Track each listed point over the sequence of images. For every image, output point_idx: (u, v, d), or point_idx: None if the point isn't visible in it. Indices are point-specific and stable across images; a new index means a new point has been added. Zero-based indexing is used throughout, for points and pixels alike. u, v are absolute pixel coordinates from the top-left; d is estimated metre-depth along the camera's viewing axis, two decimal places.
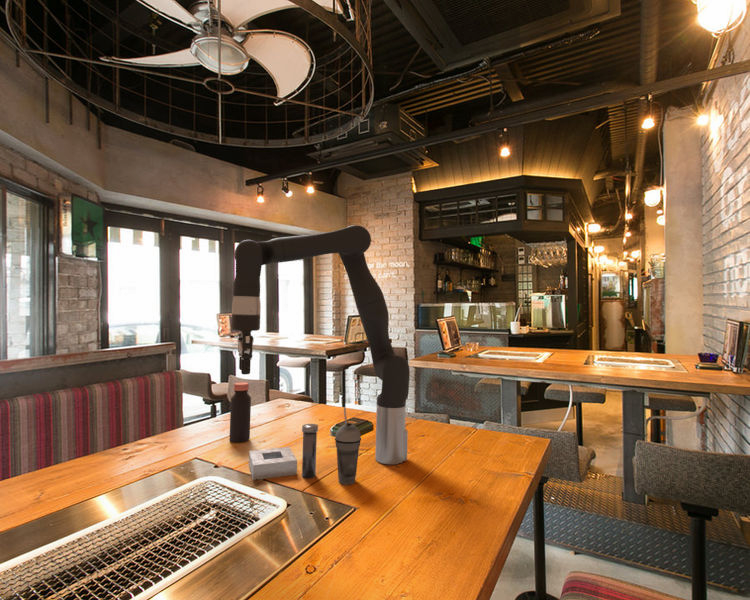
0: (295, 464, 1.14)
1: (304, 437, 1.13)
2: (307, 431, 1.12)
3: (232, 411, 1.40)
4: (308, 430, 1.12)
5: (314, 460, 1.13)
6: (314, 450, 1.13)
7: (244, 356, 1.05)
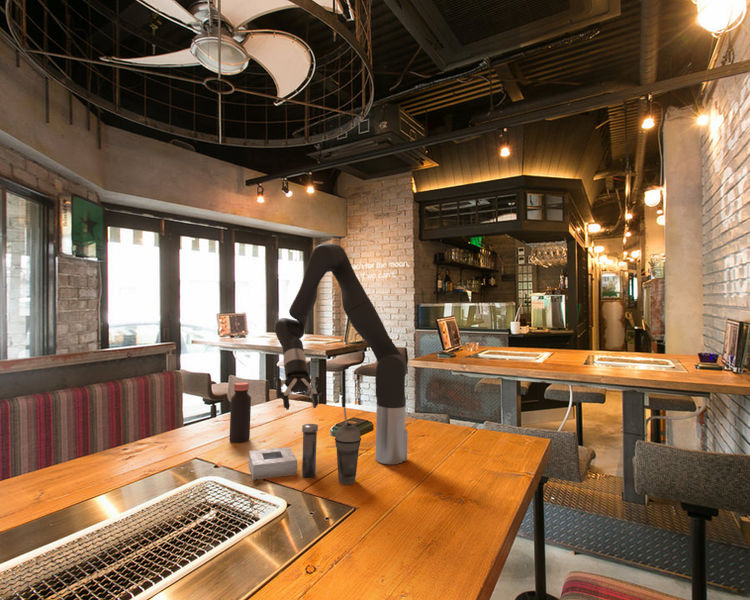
0: (295, 464, 1.14)
1: (304, 437, 1.13)
2: (307, 431, 1.12)
3: (232, 411, 1.40)
4: (308, 430, 1.12)
5: (314, 460, 1.13)
6: (314, 450, 1.13)
7: (276, 396, 1.26)
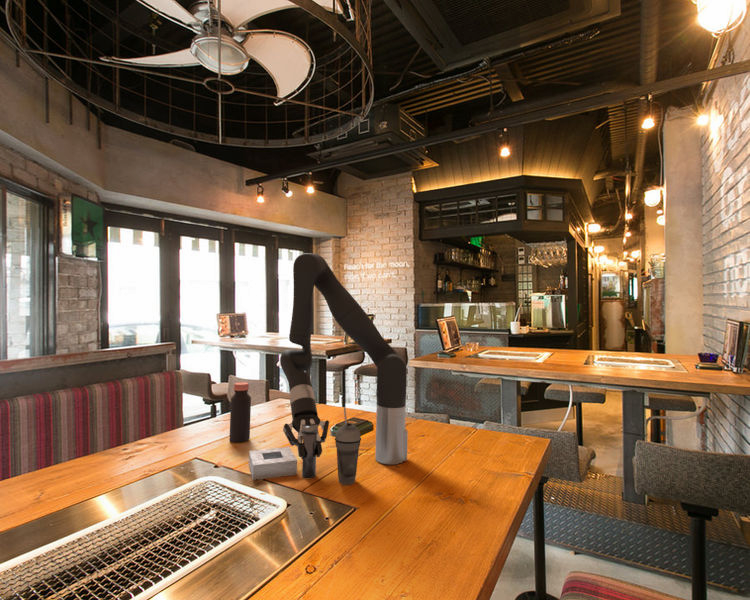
0: (295, 464, 1.14)
1: (304, 437, 1.13)
2: (307, 431, 1.12)
3: (232, 411, 1.40)
4: (308, 430, 1.12)
5: (314, 460, 1.13)
6: (314, 450, 1.13)
7: (290, 443, 1.14)
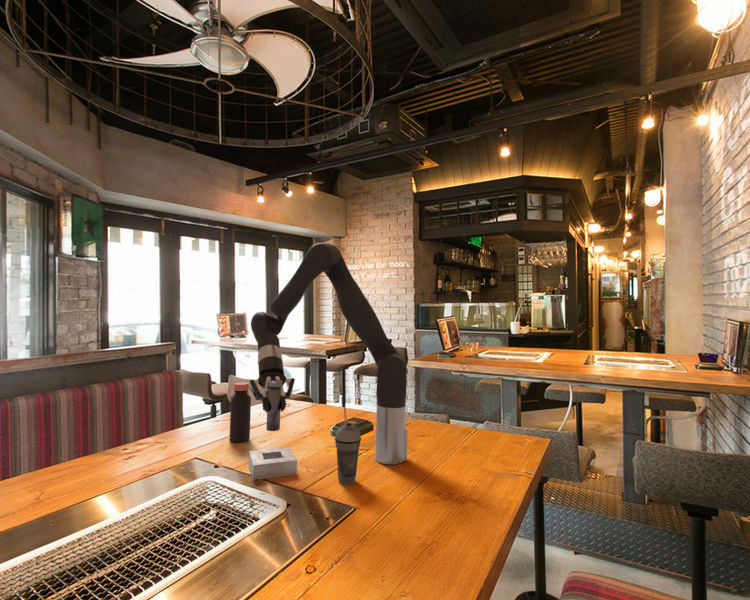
0: (295, 464, 1.14)
1: (268, 392, 1.17)
2: (271, 385, 1.16)
3: (232, 411, 1.40)
4: (272, 384, 1.16)
5: (278, 414, 1.17)
6: (278, 404, 1.17)
7: (255, 397, 1.18)
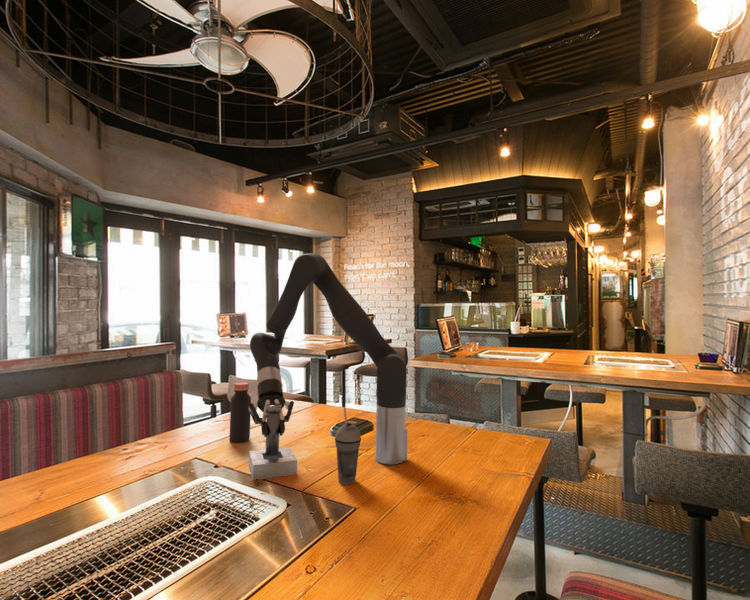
0: (295, 464, 1.14)
1: (267, 416, 1.17)
2: (270, 410, 1.16)
3: (232, 411, 1.40)
4: (271, 408, 1.16)
5: (277, 438, 1.17)
6: (277, 428, 1.17)
7: (254, 421, 1.18)
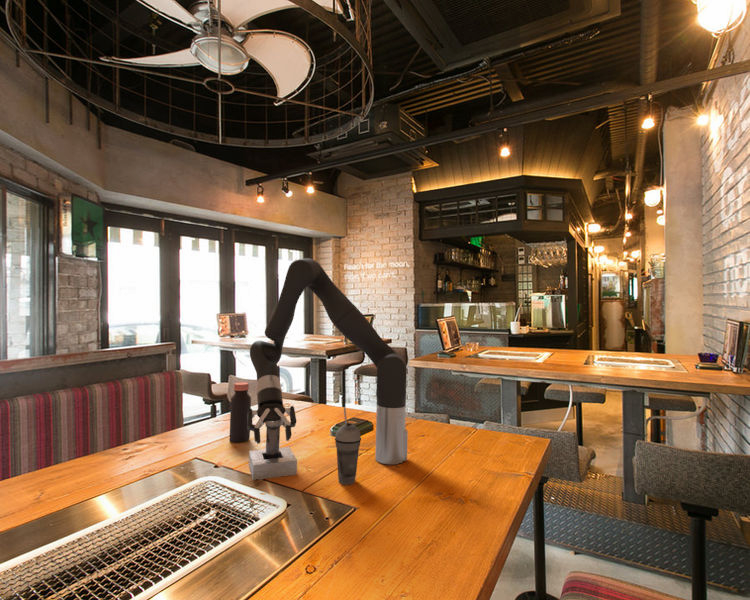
0: (295, 464, 1.14)
1: (267, 432, 1.17)
2: (270, 426, 1.16)
3: (232, 411, 1.40)
4: (271, 424, 1.16)
5: (277, 454, 1.17)
6: (277, 444, 1.17)
7: (247, 428, 1.18)
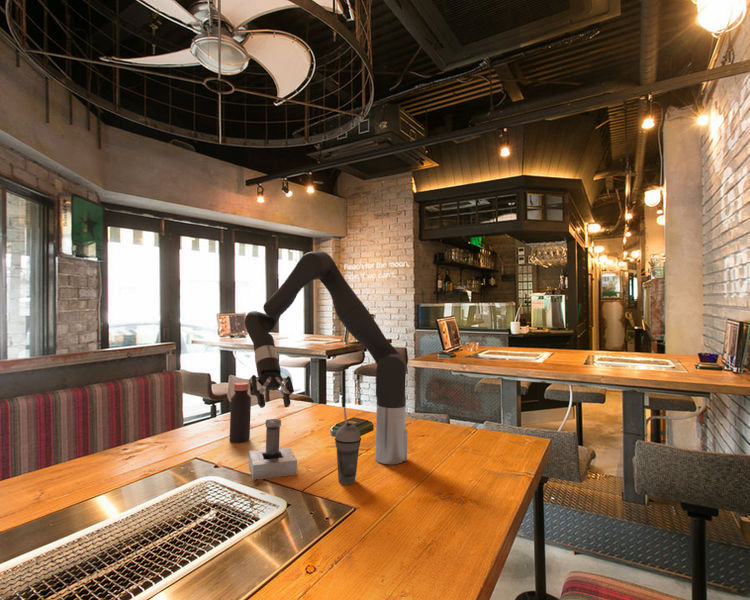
0: (295, 464, 1.14)
1: (267, 432, 1.17)
2: (270, 426, 1.16)
3: (232, 411, 1.40)
4: (271, 424, 1.16)
5: (277, 454, 1.17)
6: (277, 444, 1.17)
7: (251, 393, 1.26)
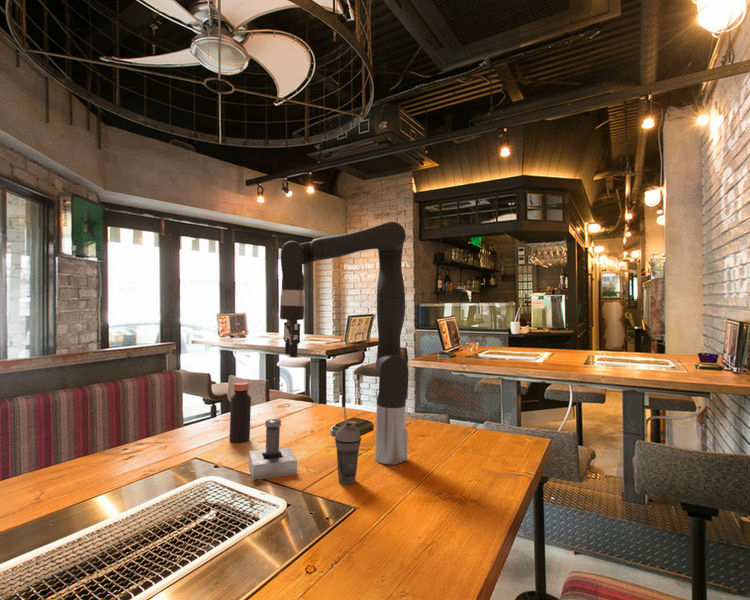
0: (295, 464, 1.14)
1: (267, 432, 1.17)
2: (269, 426, 1.16)
3: (232, 411, 1.40)
4: (271, 424, 1.16)
5: (277, 454, 1.17)
6: (277, 444, 1.17)
7: (293, 341, 1.22)
